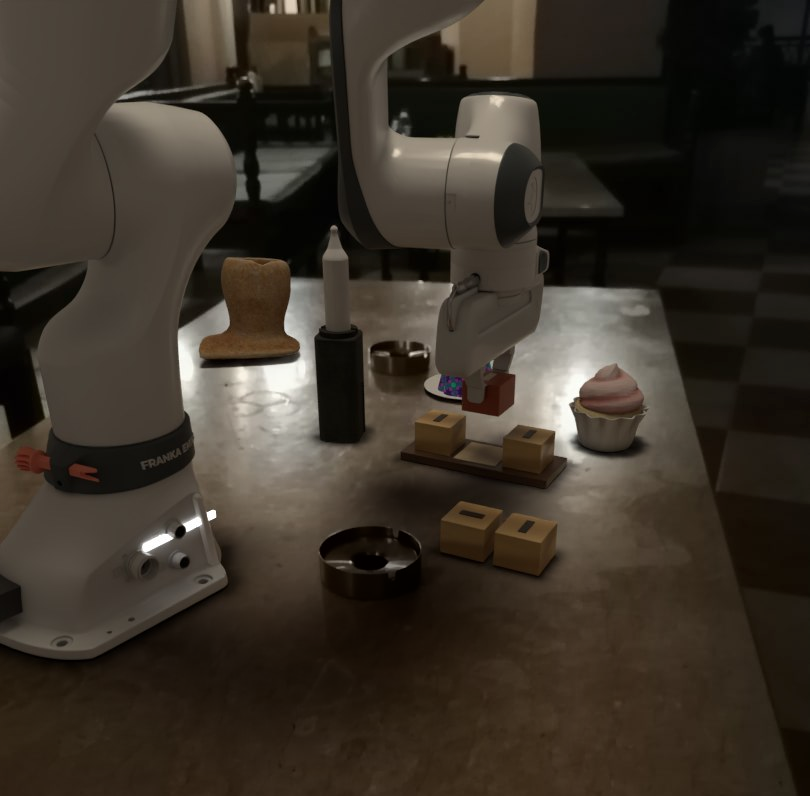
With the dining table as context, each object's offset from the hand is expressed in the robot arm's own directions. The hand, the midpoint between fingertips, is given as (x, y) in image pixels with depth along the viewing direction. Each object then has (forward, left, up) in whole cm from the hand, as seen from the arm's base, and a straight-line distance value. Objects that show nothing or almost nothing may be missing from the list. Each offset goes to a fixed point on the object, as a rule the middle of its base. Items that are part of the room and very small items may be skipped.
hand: (488, 392), depth 101 cm
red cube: (0, 0, -2) cm, 2 cm away
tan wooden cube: (-19, -12, -9) cm, 24 cm away
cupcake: (+12, -10, -9) cm, 18 cm away
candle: (0, +20, -9) cm, 21 cm away
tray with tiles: (0, +1, -9) cm, 9 cm away
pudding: (+22, +13, -9) cm, 27 cm away
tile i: (-19, -6, -9) cm, 22 cm away
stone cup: (+22, +50, -9) cm, 55 cm away
